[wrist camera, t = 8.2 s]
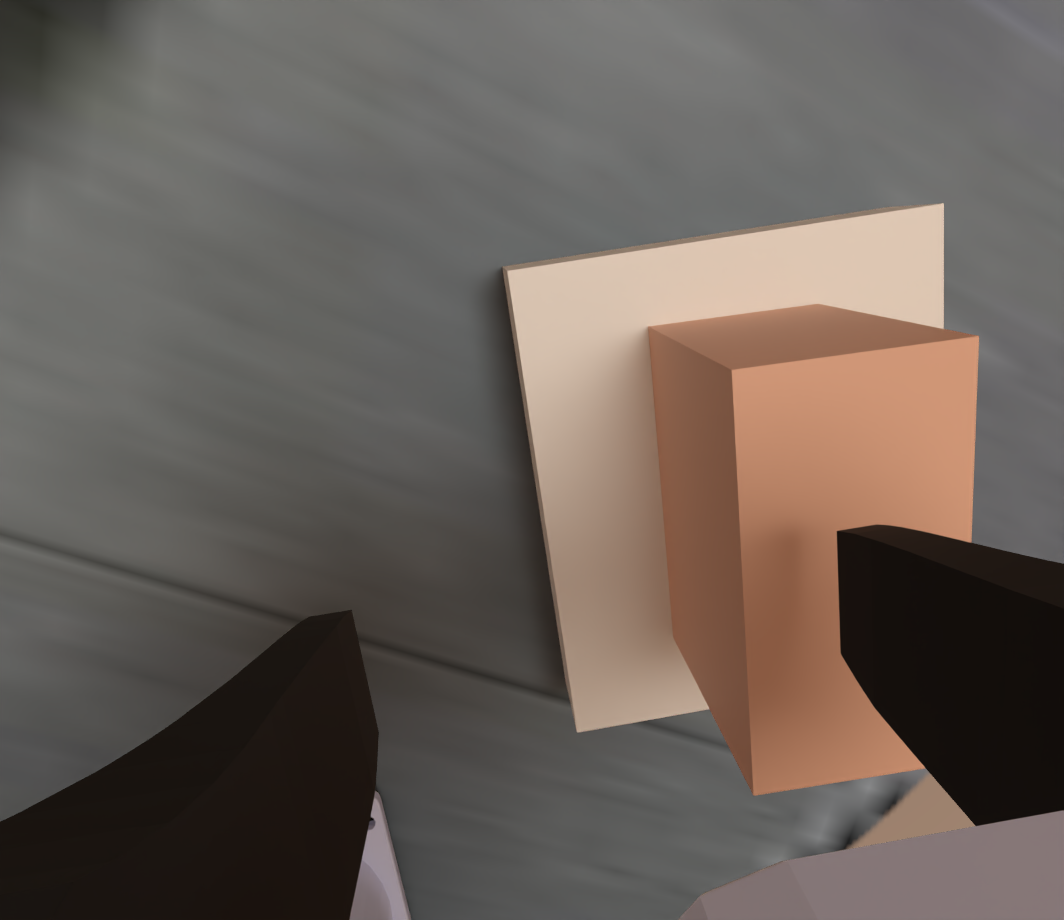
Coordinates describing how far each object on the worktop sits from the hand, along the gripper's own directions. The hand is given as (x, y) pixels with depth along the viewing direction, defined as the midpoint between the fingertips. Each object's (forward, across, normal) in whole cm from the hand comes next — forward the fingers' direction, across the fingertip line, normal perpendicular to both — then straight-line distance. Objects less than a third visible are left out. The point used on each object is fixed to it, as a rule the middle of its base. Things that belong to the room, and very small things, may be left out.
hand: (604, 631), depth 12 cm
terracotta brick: (+8, -5, +1) cm, 9 cm away
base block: (+11, -5, +1) cm, 12 cm away
